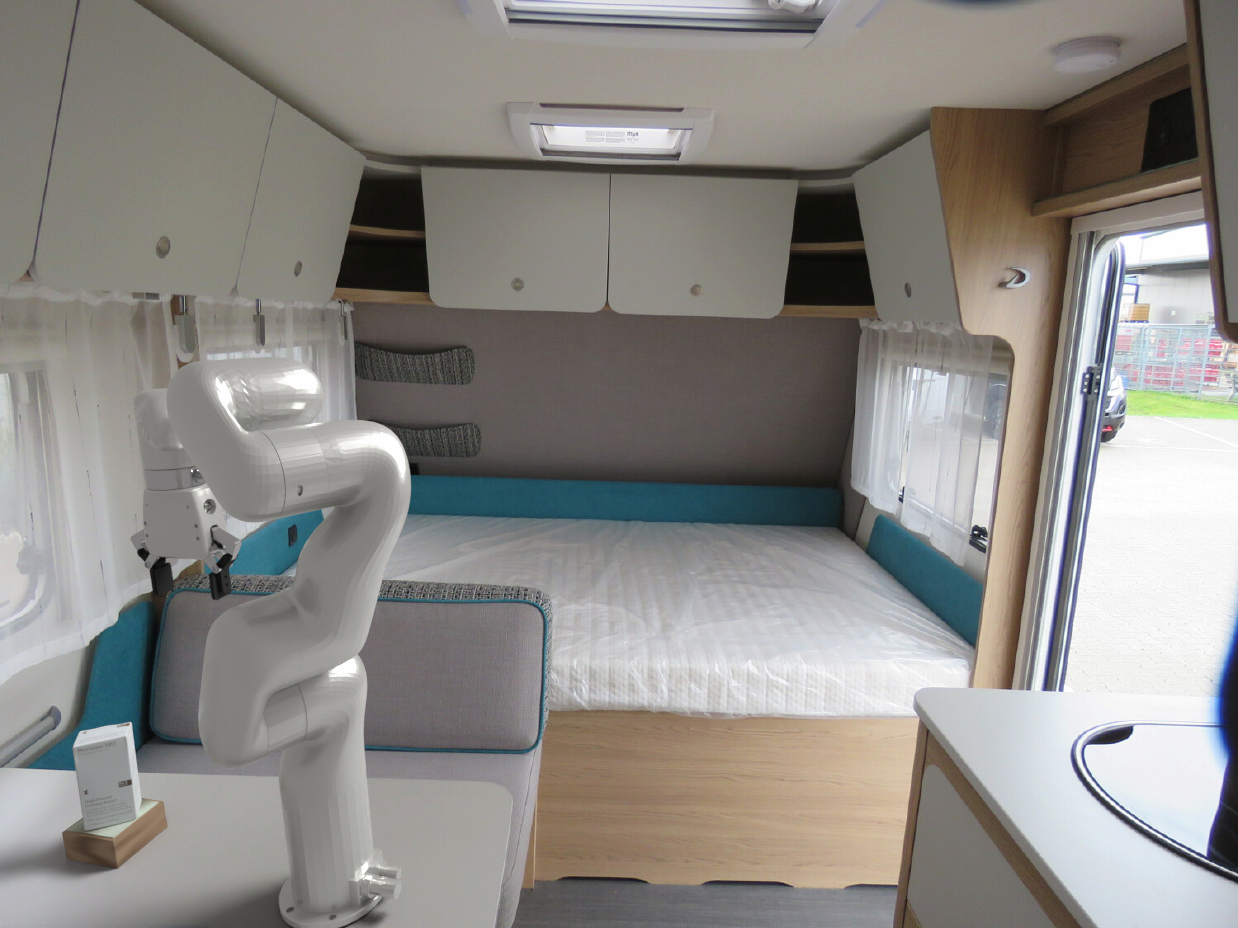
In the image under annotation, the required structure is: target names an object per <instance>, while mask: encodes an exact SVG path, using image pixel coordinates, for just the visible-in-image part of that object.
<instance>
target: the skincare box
mask: <svg viewBox="0 0 1238 928" xmlns="http://www.w3.org/2000/svg"><path fill="white" fill-rule="evenodd" d="M72 753H73V755H72V756H73V760H74V768H75V774H76V782H77V789H78V795H79V801H80V807H81V810H80V811H81V815H82V818H83V823H84V830H85V831H88V830H93V829H97V828H102V827H106V826H111V825H115V824H119V823H123V822H127V821H131V820H134V819H136V818H137V815H138V812H139V808H140V805H141V801H142V799H141V798H142V794H141V793H142V792H141V786H140V779H139V771H138V770H139V769H138V763H137V755H136V754H137V753H136V748H135V739H134V732H133V723H132V722H131V721H128V722H123V723H118V724H109V725H104V726H99V727H96V728H91V729H85V730H80V731H79V732H78V734H77V736H76V738H75V740H74V743H73V746H72Z"/></svg>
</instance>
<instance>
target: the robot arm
mask: <svg viewBox="0 0 1238 928" xmlns="http://www.w3.org/2000/svg"><path fill="white" fill-rule="evenodd" d="M172 375H173V376H172V377H171V379H170V381H169V383H168V385H167V387H163V388H153V389H146V390H141V391H139V392H137V393H136V394H135V396H134V397H133V403H132V404H133V411H134V416H135V424H136V425H135V426H136V432H137V437H138V446H139V450H140V456H141V458H140V459H141V464H142V466H141V467H142V471H143V472H142V473H143V478H144V485H145V488H144V489H143V495H142V498H143V499H142V519H143V520H142V521H143V523H142V524H143V529H142V530H139V531H138V532H136V533H134V534H133V535H132V536H130V541H131V543H132V545H133V547H134V548H135V550H136V554H137V556H138V557H139V558H140V559H141V560H142V561H143V562H144V567H145V568H146V569H148V570H149V576H150V582H151V589H152V595H153V596H155V597H156V596H157V597H158V596H160V595H163V594H165V593H167V592H169V591H172V590H174V588H175V584H174V576H173V569H172V564H171V562H169V561H168V562H167V560H169V559H178V560H179V559H181V560H196V561H197V560H200V561H201V560H202V561H203V562H204V563H205V564H206V566H207V567H208V568H209V569H210V570H211V571H212V572H210V573H209V574H208V579H209V580H208V581H209V588H210V596H211V599H212V600H213V601H219V600H220V599H223V598H224V597H226V596H228V595H230V594H232V582H231V576H230V575H231V574H230V568H232V567H233V565H234V562H235V561H236V560H237V559H238V557H239V552H240V550H241V547H242V540H241V539H239V538H238V537H236V536H234V535H233V534H231V533H229V532H227V531H228V530H227V525H226V522H225V516H224V512H223V510H224V511H225V512H226V513H227V514H228V515H229V516H231V517H233V518H234V519H236V520H238V521H242V522H245V523H252V524H253V523H263V522H265V523H266V522H269V521H275V520H278V519H283V518H287V517H292V516H296V515H301V514H306V513H310V512H314V511H319V510H324V509H327V508H333V509H332V511H331V512H330V513H329V514H328V515H327V516H326V517H325V519H323V520H322V521H321V523H319V524H318V526H317V527H316V528H315V529H314V530H313V531H312V533H311V534H310V535H309V537H308V539H306V542H305V543H304V545H303V546H302V549H301V550H300V553H299V556H298V559H297V563H296V569H295V575H294V577H293V581H292V582H291V583H292V584H291V585H290V586H287V587H286V588H285V589H284V588H283V589H282V590H280V591H278V592H275V593H271V594H269V595H265V596H262V597H258V598H256V599H252V600H249V601H245V602H243V603H240V604H237V605H235V606H232V607H231V608H229V609H227V610H226V611H224V612H222V613H221V614H220V615H219V616H217V618H216V619H215V620H214V622H213V623H212V624H211V626H210V628H209V629H208V633H207V637H206V642H205V647H204V655H203V663H202V665H203V666H202V673H201V682H200V692H199V699H198V700H199V701H198V712H197V713H198V714H197V716H198V717H197V720H198V722H197V723H198V730H199V737H200V741H201V744H202V746H203V749H204V751H205V753H206V754H207V756H208V757H209V758H210V759H211V760H212V761H213V762H214V763H215V764H217V765H218V766H220V767H223V768H225V769H239V768H240V769H241V768H245V767H248V766H250V765H253V764H255V763H257V762H260V761H262V760H264V759H267V758H269V757H272V756H274V755H276V754H277V753H278V754H279V753H280V752H282V753H281V754H282V755H281V757H280V762H279V767H278V783H279V784H278V785H279V794H280V803H281V809H282V810H281V812H282V818H283V826H284V827H283V828H284V835H285V844H286V851H287V859H288V860H287V861H288V868H289V870H288V871H289V877H288V878H287V879H286V880H285V882H284V883H283V885H282V887H281V889H280V892H279V894H278V895H279V896H278V907H279V912H280V913H279V914H280V915H281V917H282V919H283V921H284V922H285V923H286V924H287V925H289V926H291V927H292V928H342V927H345V926H347V925H349V924H351V923H353V922H355V921H358V920H359V919H360V918H362V917H364V916H365V915H367V914H369V912H370V911H372V910H373V909H374V908H375V907H376V906H377V904H378V903H380V902H381V900H382V899H383V898H385V899H389V900H390V899H391V900H397V899H399V897H400V895H401V892H402V888H403V886H402V885H403V883H402V881H401V880H399V879H400V878H401V877H402V874H403V873H402V872H403V868H402V867H401V866H395V865H388V862H387V861H386V860H385V858H384V857H383V851H382V848H380V847H374V840H373V830H372V820H371V819H372V817H371V807H370V799H369V787H368V779H367V777H368V776H367V763H366V762H367V761H366V751H365V737H364V735H365V734H364V733H365V732H364V731H365V730H364V729H365V712H366V703H367V696H368V677H367V672H366V668H365V665H364V663H363V660H362V658H361V657H360V655H359V653H360V652H361V650H362V649H363V647H364V646H365V645H366V644H365V643H366V641H367V638H368V635H369V632H370V629H371V625H372V621H373V618H374V613H375V610H376V606H377V601H378V598H379V594H380V591H381V586H382V583H383V578H384V575H385V574H384V573H385V570H386V568H387V565H388V562H389V560H390V558H391V556H392V553H393V551H394V548H395V546H396V544H397V543H398V540H399V537H400V536H401V532H403V528H404V526H405V522H406V519H407V516H408V513H409V508H410V503H411V497H412V496H411V494H412V481H411V480H412V479H411V478H412V477H411V469H410V463H409V460H408V456H407V453H406V449H405V447H404V445H403V443H402V442H401V440H400V438H399V437H398V436H397V434H395V432H393V430H392V429H390V428H389V427H387V426H385V425H384V424H380V423H378V422H375V421H372V420H371V421H370V420H369V421H368V420H363V419H342V420H341V419H340V420H329V421H328V420H327V421H322V422H321V421H319V422H314V421H315V420H316V419H317V417H318V416H319V415H320V413H321V411H322V407H323V405H324V397H325V395H324V388H323V385H322V383H321V380H320V378H319V377H318V376H317V374H316V373H315V372H314V371H313V370H312V369H311V368H310V367H308V366H307V365H306V364H304V363H302V362H299V361H297V360H295V359H291V358H286V357H280V356H259V357H246V358H245V357H244V358H230V359H229V358H227V359H213V360H199V361H194V362H189V363H188V364H185V365H183V366H181V367H180V368H179V369H178V370H177V371H175V373H174V374H172ZM216 558H217V559H216ZM217 560H218V561H217Z"/></svg>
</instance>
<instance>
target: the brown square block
mask: <svg viewBox="0 0 1238 928" xmlns="http://www.w3.org/2000/svg"><path fill="white" fill-rule="evenodd" d="M141 799H142V801H141V805H140V808H139V812H138V815H137V818H136V819H134V820H131V821H127V822H123V823H119V824H115V825H111V826H106V827H102V828H97V829H93V830H88V831H85V830H84V823H83V817H82V818H80V819H79V820H78V821H76V822H75V823H73V824H72V825H71V826H69V827H67V828H66V829H64V831H62V832H61V835H62V839H63V845H64V851H65V855H66V860H69V861H75V862H78V863H79V862H80V863H86V864H91V865H97V866H101V867H108V868H114V869H119V868H120V867H121V866H123V865H124V864H125V863H126V862H127V861H128V860H130V859H131V858H132V857H133V856H134V855H136V854H137V853H139V851H140V850H142V849H143V848H144V847H145V846H146V845H147V844H149V843H150V842H151V841H153V840H154V839H155V838H156V837H157V836H158V835H160V834H161V833H162V832H163V831H164V830H166V829H167V828H168V822H167V816H166V815H167V814H166V809H165V802H164V800H159V799H158V800H157V799H152V798H145V797H144V798H143V797H141Z"/></svg>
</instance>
